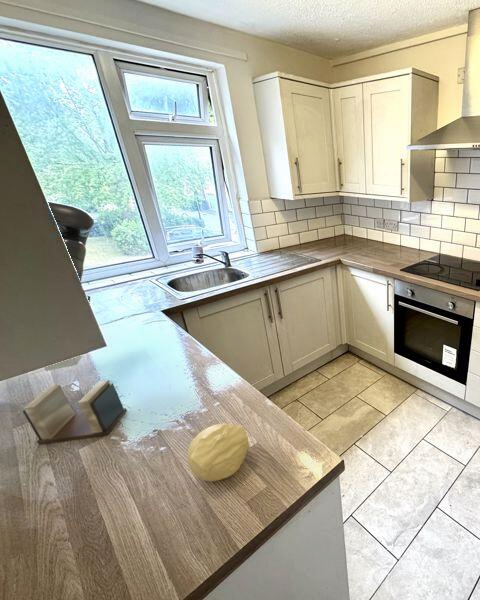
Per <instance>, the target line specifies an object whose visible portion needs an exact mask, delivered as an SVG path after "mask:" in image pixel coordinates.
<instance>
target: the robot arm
mask: <svg viewBox="0 0 480 600" xmlns="http://www.w3.org/2000/svg"><path fill="white" fill-rule="evenodd" d="M47 201H48V203H49V206H50V208H51V211H52V213H53V215H54V218H55V220H56V222H57V225H58V227H59V230H60V232H61V234H62V237H63V239H64V242H65V244H66V246H67V249H68V252H69V254H70V256H71V259H72V261H73V263H74V266H75V268H76V270H77V273H78V276H79V278H80V281H81V282H82V279H83V274H84V263H85V259H86V255H87V248H86V245H87V241H88V238H89V235H90V232H91V230H92V229H93V227H94V223H95V221H94V218H93V216H92V215H91V214H90V213H89V212H87V211H86V210H83V209H82V208H79V207H78V206H73V205H70V204H65V203H60V202H55V201H49V200H47ZM86 295H87V297H88V300H89V302H91V296H89V295H88V294H86Z"/></svg>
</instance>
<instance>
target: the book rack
mask: <svg viewBox="0 0 480 600" xmlns="http://www.w3.org/2000/svg"><path fill="white" fill-rule="evenodd" d="M77 403H78V405H79V408H80V409H81V411H82V412H79V413H75V411H74V410H73V407H72V405H71V404H70V401H69V400H68V398H67V396H66V394H65V392H64V390H63V388H62V387H61V384H54V385H50V386H49V387H48V388H46V389H45V390H44V391H43V392H41V393H40V394H39V395H37V397H36V398H34V399H33V400H31V401H30V402H29V403H28V404H27V405H26V406H24V408H23V410H22V413H23V415H24V417H25V418H26V420H27V421H28V423H29V425H30V427H31V428H32V430H33V432H34V433H35V435H36V437H37V438H38V439H37V440H36V443H37V444H38V445H43V444H50V443H51V444H52V443H59V442H66V441H72V440H73V441H75V440H82V439H91V438H97V437H105V436H108V435H110V433H111V432H112V431H113V429H114V428H115V427H116V425H117V424H118V423H119V421H121V419H122V418H123V417H124V416H125V414H126V413H127V411H128V409H127V408H126V407H124V406H123V404H122V402H121V399H120V396H119V394H118V391H117V390H116V386H115V385H114V382H110V380H109V379H103V380H99V381H98V382H97V383H96V384H95V385H94V386H93V387H92V388H91V389H90V390H89V391H88V392H87V393H86V394H85V395H84V396H83V397H82V398H81V399H80V400H78V402H77Z"/></svg>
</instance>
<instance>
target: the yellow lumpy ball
mask: <svg viewBox="0 0 480 600" xmlns="http://www.w3.org/2000/svg"><path fill="white" fill-rule="evenodd" d="M249 449H250V443H249V436H248V435H247V432H246V429H245V427H244V426H243V425H241V424H240V425H239V424H236V425H232V424H229V423H217V424H213V425H210V426H207V427H206V428H204V429H203V430H201V431H200V432H199V433H198V434H197V435H196V436H194V438H193V440H192V441H191V443H190V445H189V447H188V450H187V464H188V467H189V469H190V471H191V472H192V474H193V475H194V476H195V477H197V478H198V479H200V480H202V481H205V482H217V481H221V480H224V479H227V478H229V477H231V476H233V475H234V474H235V473H236V472H237V471H238V470H239V469H240V468H241V465H242V464H243V463H244V460H245V458H246V456H247V452H248V450H249Z"/></svg>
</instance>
